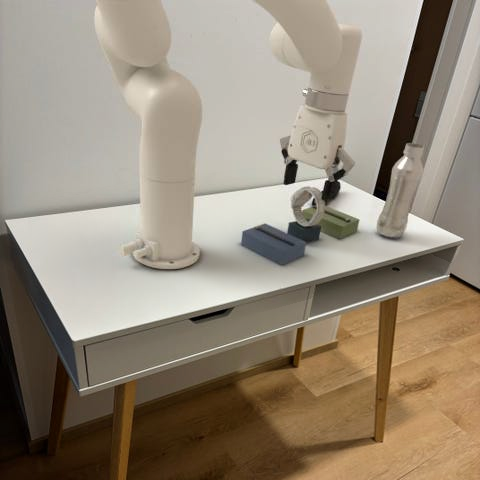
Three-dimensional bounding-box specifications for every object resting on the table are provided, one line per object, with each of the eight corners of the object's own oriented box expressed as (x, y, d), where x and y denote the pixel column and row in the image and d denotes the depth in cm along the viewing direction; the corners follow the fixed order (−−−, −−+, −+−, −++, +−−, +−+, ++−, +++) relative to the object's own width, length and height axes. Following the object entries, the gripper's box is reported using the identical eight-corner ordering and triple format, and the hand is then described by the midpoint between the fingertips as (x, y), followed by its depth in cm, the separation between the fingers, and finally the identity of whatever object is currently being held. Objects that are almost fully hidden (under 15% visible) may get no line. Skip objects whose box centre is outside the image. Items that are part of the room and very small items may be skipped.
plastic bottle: (368, 230, 112) (392, 141, 101) (390, 227, 115) (415, 140, 104) (387, 242, 108) (414, 150, 96) (409, 239, 111) (438, 149, 99)
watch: (300, 228, 110) (308, 180, 103) (324, 243, 104) (334, 193, 98) (280, 232, 107) (288, 183, 100) (304, 247, 101) (314, 196, 95)
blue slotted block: (282, 265, 94) (284, 248, 92) (240, 244, 100) (242, 228, 98) (303, 255, 98) (307, 239, 96) (263, 236, 104) (265, 220, 102)
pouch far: (339, 239, 107) (343, 224, 105) (300, 222, 113) (302, 207, 110) (356, 231, 111) (360, 216, 109) (317, 215, 117) (320, 201, 115)
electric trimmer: (343, 193, 132) (345, 182, 131) (324, 209, 120) (326, 197, 119) (330, 190, 134) (332, 178, 132) (309, 205, 122) (312, 193, 120)
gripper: (277, 91, 92) (263, 181, 101) (355, 113, 83) (331, 209, 92) (301, 91, 97) (286, 176, 106) (377, 111, 88) (352, 202, 97)
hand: (307, 191), depth 99 cm, fingers open, 9 cm apart
